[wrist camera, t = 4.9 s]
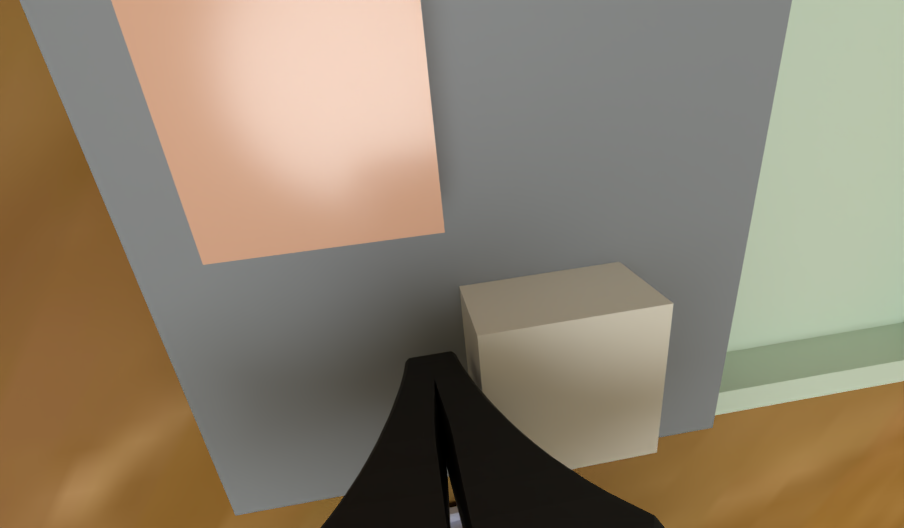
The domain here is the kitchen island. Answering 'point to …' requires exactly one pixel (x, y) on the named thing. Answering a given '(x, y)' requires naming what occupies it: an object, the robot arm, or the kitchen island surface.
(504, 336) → the tile
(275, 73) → the peach square block
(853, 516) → the kitchen island surface
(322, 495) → the slate board
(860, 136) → the tray
